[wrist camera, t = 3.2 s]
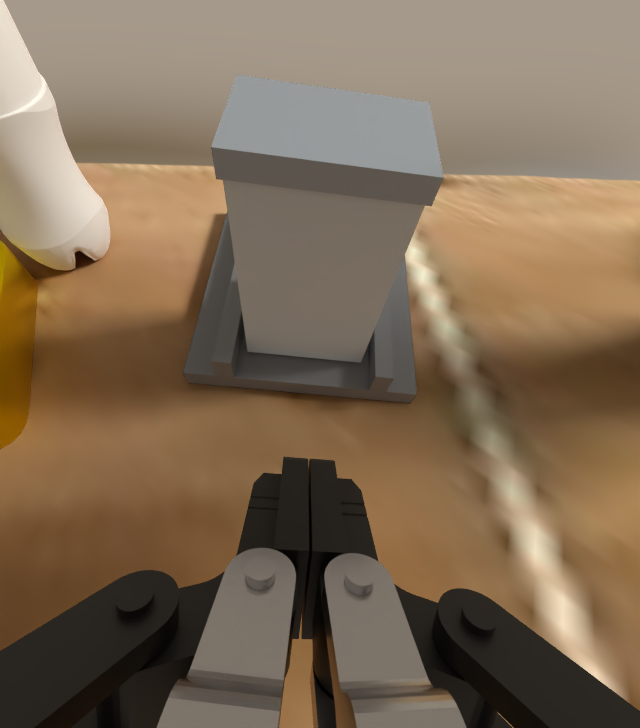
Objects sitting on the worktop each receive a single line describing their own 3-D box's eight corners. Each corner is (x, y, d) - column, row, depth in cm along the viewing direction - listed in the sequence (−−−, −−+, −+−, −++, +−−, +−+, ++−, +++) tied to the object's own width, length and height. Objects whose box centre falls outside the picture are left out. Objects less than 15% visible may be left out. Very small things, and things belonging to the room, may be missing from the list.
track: (397, 233, 35) (412, 192, 31) (410, 403, 26) (433, 374, 22) (232, 213, 34) (226, 168, 30) (187, 382, 25) (171, 349, 21)
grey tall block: (363, 305, 28) (429, 102, 16) (363, 365, 25) (443, 177, 13) (255, 293, 28) (236, 74, 15) (244, 353, 25) (210, 147, 13)
